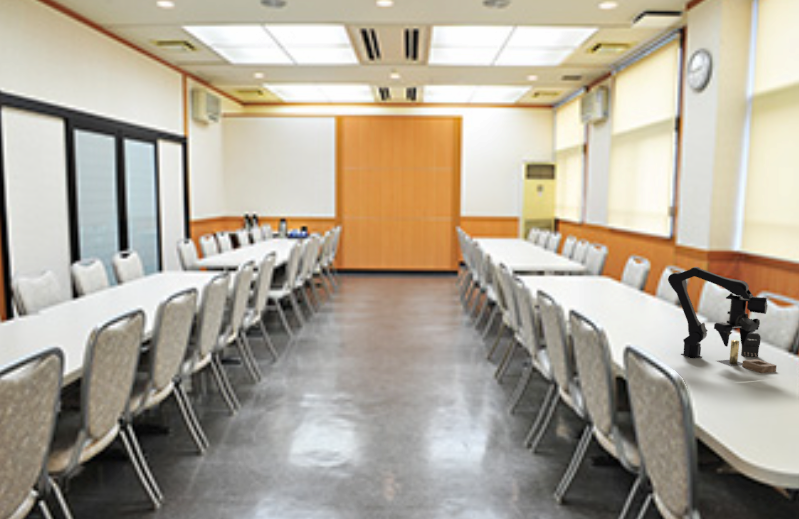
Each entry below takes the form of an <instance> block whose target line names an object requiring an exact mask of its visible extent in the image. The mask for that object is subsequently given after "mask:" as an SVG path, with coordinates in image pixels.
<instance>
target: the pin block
mask: <svg viewBox="0 0 799 519" xmlns="http://www.w3.org/2000/svg"><path fill="white" fill-rule="evenodd" d="M741 363H742V365H741V367H743V368H744V369H747V370H748V369H749V370H751V371H753V372H757V373H760V374H764V373H765V374H767V373H776V372H777V364H773V363H769V362H767V361H764V360H761V359H758V358H757V359H746V360H742V362H741Z"/></svg>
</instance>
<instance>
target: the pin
mask: <svg viewBox="0 0 799 519" xmlns="http://www.w3.org/2000/svg"><path fill="white" fill-rule="evenodd" d="M739 347H740V341H739V340H737V339H731V340H730V349H729V350H730V353H729V360H730V361H729V363H730V364H737V362H739V361H738V360H739V352H740V351H739V349H740V348H739Z"/></svg>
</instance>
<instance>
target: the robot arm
mask: <svg viewBox="0 0 799 519" xmlns="http://www.w3.org/2000/svg"><path fill="white" fill-rule="evenodd" d="M694 277H696V278H699V279H701V280H704V281H706V282H709V283H712V284H713V285H717V286H719V287H722V288H723V289H725V290H727V291H728V292H730V293H729V295H728V296H726V297H725V299H726V300H730V307H729V308H730V309H729V311H727V312H726V313H727V315H729V319H728V320H726V322H721V321H720V322H716V323H714V326H713V329H714V330H715V331H716V332H717V333H718V335H719V337H720V339H721V341H722V343H723V345H724V347H728V346H729V341H730V335H731V334H733V329H739V336H740V344H741V346H742V345H745V343H746V341H747V339H748V337H749V335H750V334H751V333H753V332H757V330H759V327H760V324H761V322H760V319H759V318H753V319H752V318H749V314H748V313H747V310H748V311H749V312H750V313H757V314H764V315H766V314H767V311H768V297H765V296H761V297H760V296H754V295H753V293H752V292H751V290H750V288H749V284H748V282H746V281H744V280H739V279H736V278H730V277H729V278H728V277H725V276H723V275H719V274H716V273H714V272H711V271H708V270H705V269H703V268H700V267H699V266H694V267H691V268H690V269H687V270H685V271H676V272H673V273H671V274H669V276H668V278H667V281H668V283H669V285H670V286H671V288H672V290H673V291H674V292H675V293H676V294H677V298H678V300H679V304H680V305H681V308H682V311H683V313H684V314H683V315H684V317H685V318H686V319H685V320H686V321H687V331H688V336H687V337H685V338H684V339H682V340H683V343H684V344H683V353H680V356H683V357H686V358H689V359H701V358H703V355H702V356H701V350H702V346H701V342H702V341H703V340H704V339H705V338H706V337H707V336H708V329H707V327H706V324H705V322H702V323H701V322H700V320H699V319H698V316H697V314H696V311H695V309H694V305H693V303H692V301H691V298H690V296H689V293H688V288H687V286H688V285H687V280H688V279H692V278H694Z"/></svg>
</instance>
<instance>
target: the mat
mask: <svg viewBox="0 0 799 519" xmlns="http://www.w3.org/2000/svg"><path fill="white" fill-rule="evenodd" d="M729 361H730V359H722V360H716V362H718V363H721V364H724V365H726V366H728V367H738V366H739V367H740V366H742V363H743V362H741V361H738V362H737V364H730V363H729Z"/></svg>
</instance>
